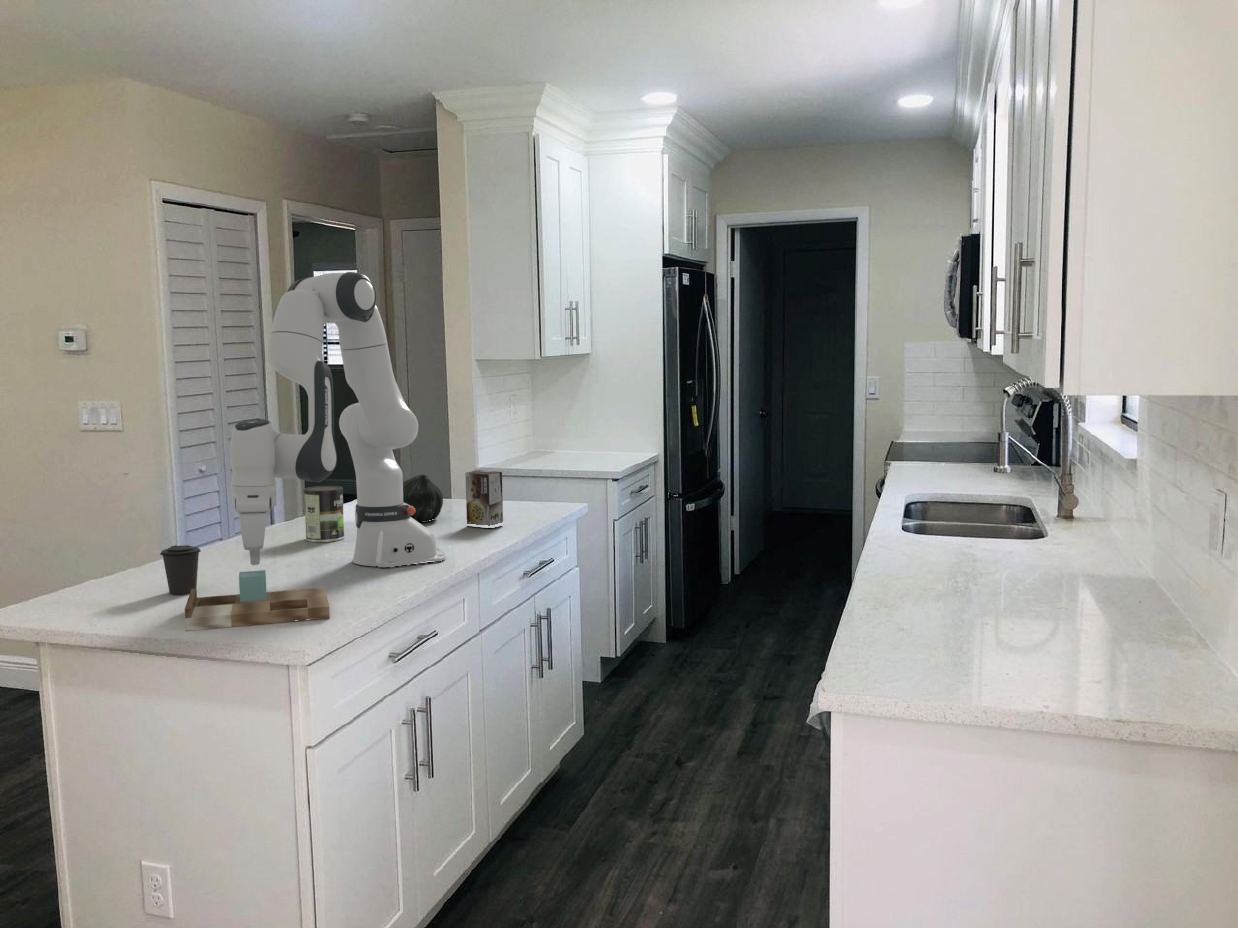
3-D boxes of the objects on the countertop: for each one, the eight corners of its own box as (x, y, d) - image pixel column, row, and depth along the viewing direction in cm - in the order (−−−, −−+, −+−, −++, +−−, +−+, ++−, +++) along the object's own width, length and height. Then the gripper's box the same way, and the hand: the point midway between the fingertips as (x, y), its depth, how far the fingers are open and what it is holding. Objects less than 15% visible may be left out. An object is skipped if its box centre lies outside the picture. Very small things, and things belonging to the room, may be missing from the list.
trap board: (325, 598, 213) (325, 579, 213) (329, 618, 198) (328, 597, 198) (192, 609, 205) (191, 589, 205) (185, 630, 190) (184, 609, 190)
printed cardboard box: (504, 526, 296) (503, 471, 294) (489, 529, 290) (489, 474, 288) (480, 523, 301) (479, 469, 299) (465, 526, 295) (464, 471, 293)
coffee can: (349, 535, 282) (347, 485, 281) (338, 542, 272) (336, 490, 270) (312, 535, 283) (310, 485, 281) (300, 542, 272) (298, 490, 271)
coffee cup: (173, 587, 223) (170, 542, 222) (209, 587, 223) (207, 543, 222) (155, 596, 215) (152, 550, 214) (193, 596, 215) (190, 550, 214)
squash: (389, 498, 312) (393, 466, 301) (438, 498, 316) (443, 466, 305) (392, 535, 303) (396, 503, 292) (442, 534, 307) (448, 503, 296)
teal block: (266, 593, 208) (265, 570, 207) (266, 599, 203) (265, 575, 203) (240, 595, 206) (239, 571, 206) (240, 601, 202) (238, 577, 201)
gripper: (239, 491, 219) (241, 554, 221) (235, 505, 200) (237, 574, 201) (270, 491, 221) (271, 553, 223) (269, 504, 202) (270, 572, 203)
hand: (255, 563), depth 212 cm, fingers closed
